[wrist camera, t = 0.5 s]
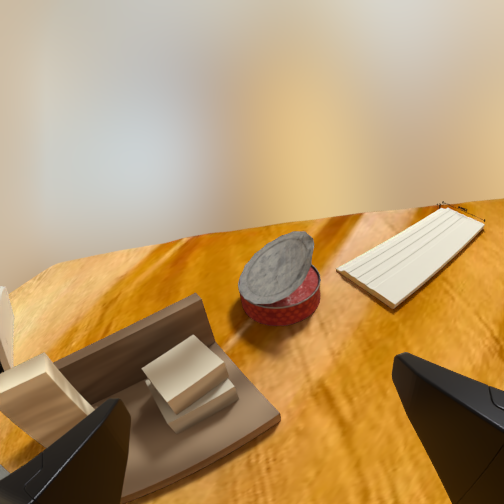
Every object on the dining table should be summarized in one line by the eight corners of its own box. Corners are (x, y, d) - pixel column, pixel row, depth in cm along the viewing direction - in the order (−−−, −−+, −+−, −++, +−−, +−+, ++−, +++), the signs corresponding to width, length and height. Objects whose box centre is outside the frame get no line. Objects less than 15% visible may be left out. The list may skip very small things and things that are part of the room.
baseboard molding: (329, 269, 41) (392, 313, 32) (329, 252, 40) (397, 295, 30) (435, 209, 52) (483, 231, 43) (436, 196, 51) (486, 217, 41)
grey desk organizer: (280, 420, 23) (274, 375, 19) (75, 518, 13) (18, 493, 9) (213, 344, 32) (195, 292, 28) (49, 424, 22) (7, 384, 18)
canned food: (307, 346, 35) (300, 325, 27) (236, 322, 39) (208, 295, 31) (334, 267, 40) (333, 226, 31) (266, 250, 43) (249, 209, 35)
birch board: (120, 444, 20) (45, 371, 14) (70, 464, 17) (-13, 398, 12) (113, 427, 21) (44, 352, 16) (65, 447, 19) (-12, 379, 13)
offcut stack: (240, 398, 24) (231, 370, 21) (176, 434, 21) (157, 411, 19) (210, 360, 28) (199, 331, 25) (153, 391, 25) (134, 364, 23)
